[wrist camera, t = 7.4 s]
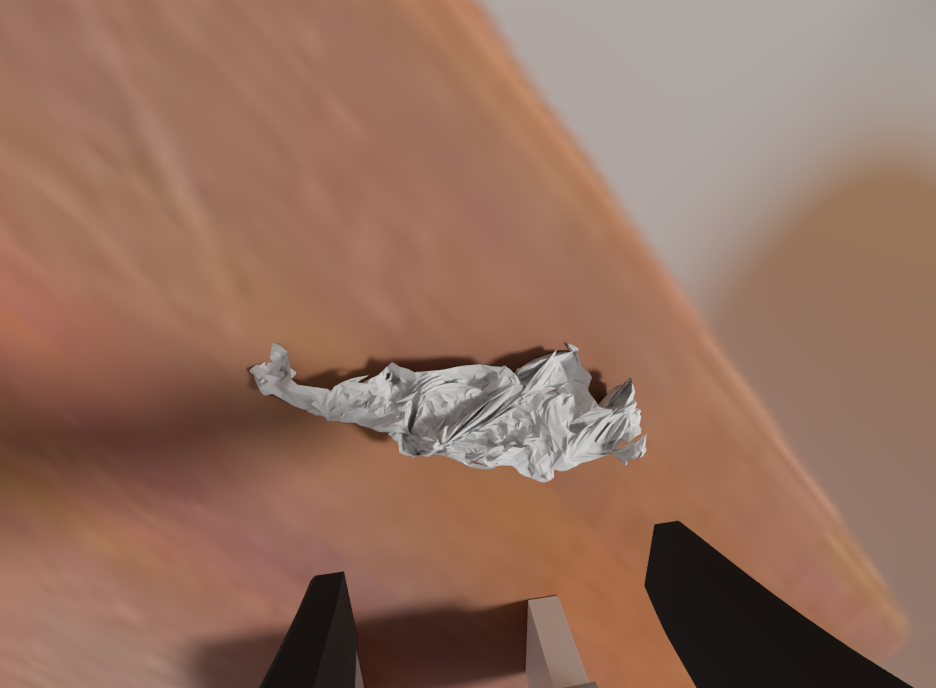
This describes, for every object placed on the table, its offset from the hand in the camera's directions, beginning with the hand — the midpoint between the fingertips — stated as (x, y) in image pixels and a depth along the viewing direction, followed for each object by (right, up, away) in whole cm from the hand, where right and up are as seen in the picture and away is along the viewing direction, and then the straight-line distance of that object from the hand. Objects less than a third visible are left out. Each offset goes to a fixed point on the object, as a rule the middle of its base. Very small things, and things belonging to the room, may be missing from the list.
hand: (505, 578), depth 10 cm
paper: (-2, +4, +8) cm, 9 cm away
